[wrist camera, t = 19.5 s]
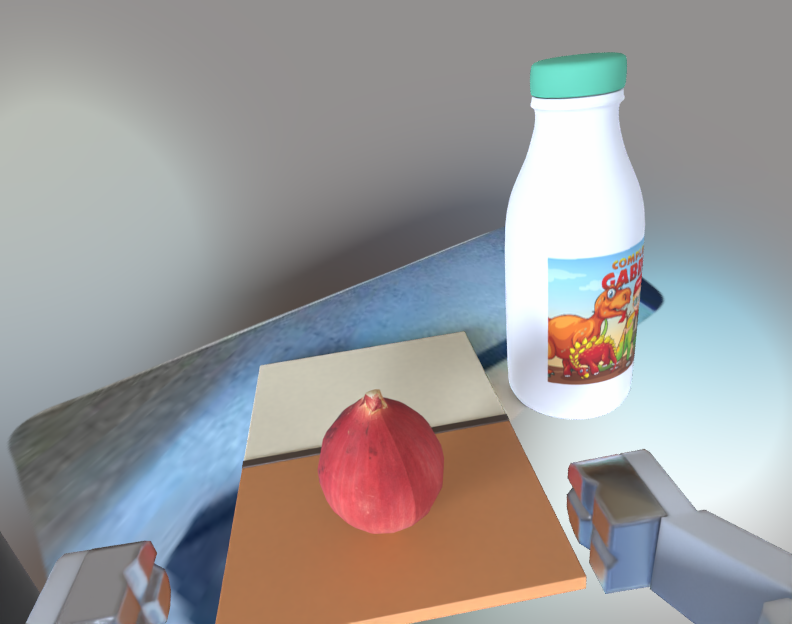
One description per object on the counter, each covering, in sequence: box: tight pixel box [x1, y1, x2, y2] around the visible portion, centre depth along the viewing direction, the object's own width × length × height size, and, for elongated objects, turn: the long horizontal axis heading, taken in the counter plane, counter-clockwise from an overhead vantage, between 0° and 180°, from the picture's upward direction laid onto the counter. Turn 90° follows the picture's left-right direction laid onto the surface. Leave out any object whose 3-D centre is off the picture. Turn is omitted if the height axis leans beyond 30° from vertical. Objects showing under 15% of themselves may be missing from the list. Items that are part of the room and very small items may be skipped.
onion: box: [317, 389, 444, 534], centre depth 25 cm, size 6×6×8 cm
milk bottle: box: [505, 52, 645, 419], centre depth 32 cm, size 8×8×20 cm
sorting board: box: [216, 331, 586, 624], centre depth 33 cm, size 16×22×1 cm
